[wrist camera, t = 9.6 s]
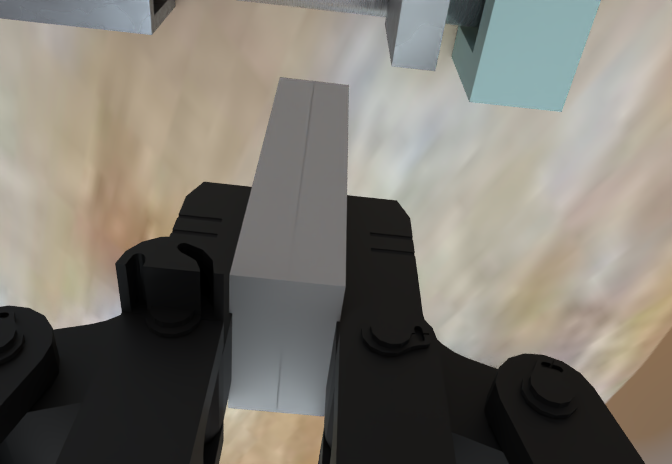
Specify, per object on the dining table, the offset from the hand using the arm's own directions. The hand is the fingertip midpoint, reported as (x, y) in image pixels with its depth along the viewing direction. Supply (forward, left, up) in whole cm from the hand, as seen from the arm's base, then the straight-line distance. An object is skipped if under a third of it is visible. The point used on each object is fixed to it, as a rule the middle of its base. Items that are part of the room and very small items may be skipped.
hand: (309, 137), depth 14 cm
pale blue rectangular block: (+1, +11, -24) cm, 27 cm away
